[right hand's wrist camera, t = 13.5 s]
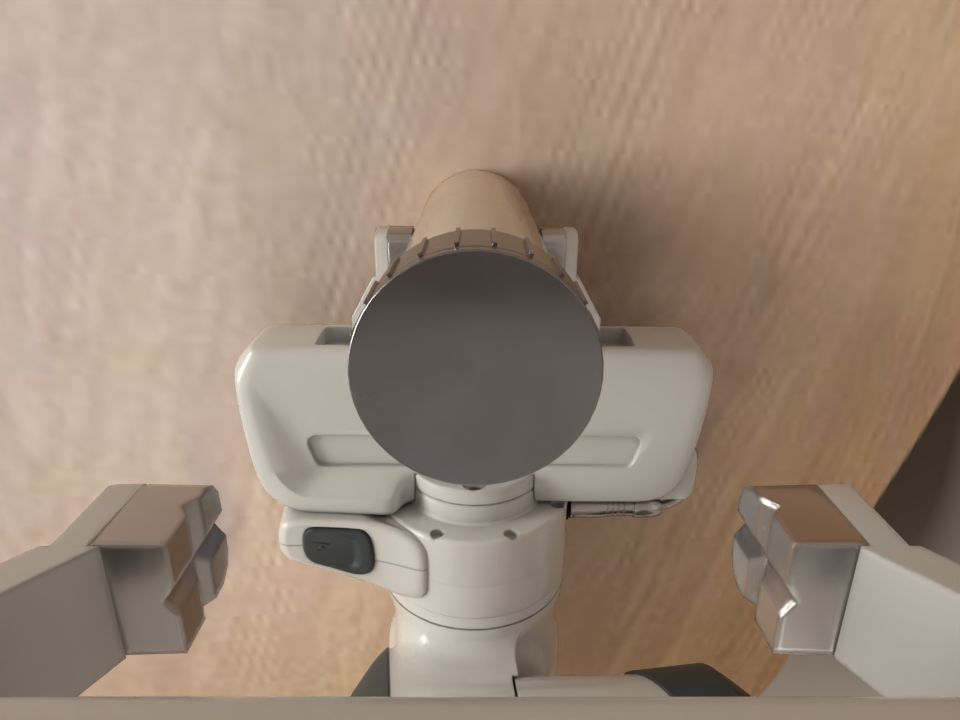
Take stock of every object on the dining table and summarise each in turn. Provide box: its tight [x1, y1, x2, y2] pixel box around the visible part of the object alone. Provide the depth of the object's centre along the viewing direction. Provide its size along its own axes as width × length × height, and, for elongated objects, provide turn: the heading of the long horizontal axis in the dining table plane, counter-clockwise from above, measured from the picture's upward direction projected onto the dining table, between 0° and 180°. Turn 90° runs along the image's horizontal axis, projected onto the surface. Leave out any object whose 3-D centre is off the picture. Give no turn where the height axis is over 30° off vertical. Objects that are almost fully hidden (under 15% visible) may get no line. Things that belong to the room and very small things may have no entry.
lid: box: [347, 227, 604, 486], centre depth 17 cm, size 6×6×2 cm
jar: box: [404, 170, 549, 254], centre depth 24 cm, size 5×5×18 cm
